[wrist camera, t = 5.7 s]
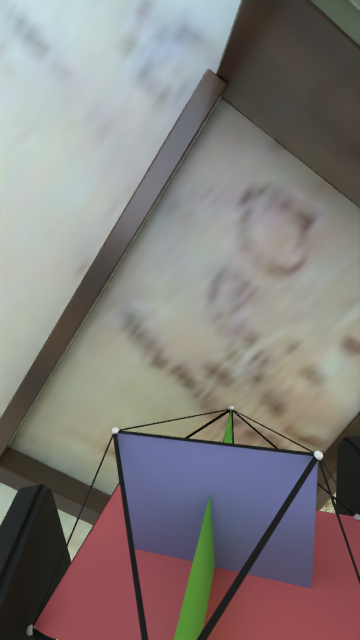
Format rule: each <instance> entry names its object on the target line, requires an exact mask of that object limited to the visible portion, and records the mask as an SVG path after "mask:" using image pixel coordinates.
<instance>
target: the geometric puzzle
mask: <svg viewBox="0 0 360 640" xmlns="http://www.w3.org/2000/svg"><path fill="white" fill-rule="evenodd" d="M226 410H227V411H226ZM226 410H221V411H225V412H224V413H222V414H221V415H219V416H218V417H216V418H215V419H213V420H211V421H210V422H208V423H207V424H205V425H204V426H202V427H201V428H199V429H198V430H196V431H194V432H193V433H191V434H190V435H188V436H187V437H185V438H180V437H171V436H163V435H154V434H145V433H137V432H128V431H122V430H127V429H132V428H138V427H143V426H148V425H153V424H159V423H164V422H169V421H174V420H179V419H185V418H190V417H195V416H200V415H205V414H211V413H216V412H221V411H216V412H210V413H205V414H200V415H194V416H189V417H184V418H178V419H173V420H168V421H163V422H157V423H152V424H147V425H141V426H136V427H131V428H125V429H120V430H119V428H118V427H114V428H113V429H112V433H113V434H112V437H111V439H110V442H109V444H108V446H107V449H106V451H105V454H104V456H103V458H102V461H101V463H100V466H99V468H98V470H97V473H96V475H95V477H94V480H93V482H92V485H91V487H90V489H89V492H88V494H87V497H86V499H85V501H84V504H83V506H82V509H81V511H80V513H79V516H78V518H77V521H76V523H75V525H74V528H73V530H72V533H71V535H70V537H69V540H68V542H67V545H66V547H65V549H64V552H63V554H62V557H61V559H60V561H59V564H58V566H57V568H56V571H55V573H54V576H53V578H52V580H51V583H50V585H49V588H48V590H47V592H46V595H45V597H44V600H43V602H42V604H41V607H40V609H39V612H38V614H37V616H36V619H35V621H34V624H33V625H30V626H29V627H28V628H27V631H26V632H27V635H29V636H30V635H32V634H33V635H34V637H35V639H36V640H38V638H37V637H39V638H40V639H42V640H52V639H51V638H49V637H52V638H54V639H57V640H360V515H359V514H355V512H354V511H353V509H352V507H351V506H350V504H349V503H348V501H347V499H346V498H345V496H344V495H343V493H342V491H341V490H340V488H339V487H338V485H337V483H336V482H335V480H334V479H333V477H332V475H331V474H330V472H329V471H328V469H327V467H326V466H325V464H324V463H323V461H322V458H323V454H322V453H321V452H320V451H315V452H313V451H311V450H309V449H307V448H305V447H303V446H302V445H300V444H298V443H296V442H294V441H292V440H290V439H288V438H286V437H284V436H283V435H281V434H279V433H277V432H275V431H273V430H271V429H269V428H267V427H265V426H264V425H262V424H260V423H258V422H256V421H254V420H252V419H250V418H248V417H246V416H244V415H243V414H241V413H239V412H237V411H235V410H234V408H233V406H229V408H228V409H226ZM228 412H229V419H228V424H227V428H226V432H225V436H224V440H223V442H215V441H206V440H197V439H189V437H191V436H193V435H194V434H196V433H197V432H199V431H200V430H202V429H203V428H205V427H207V426H208V425H210V424H211V423H213V422H214V421H216V420H217V419H219V418H221V417H222V416H224V415H225V414H227V413H228ZM233 412H234V413H235V414H236V415H237V416H239V417H240V418H241V419H242V420H243V421H244V422H246V423H247V424H248V425H249V426H250V427H251V428H253V429H254V430H255V431H256V432H257V433H258V434H259V435H261V436H262V437H263V438H264V439H265V440H266V441H268V442H269V443H270V444H271V445H272V446H273V447H275V448H267V447H258V446H250V445H241V444H234V433H233ZM236 412H237V413H239V414H241V415H243V416H244V417H246V418H248V419H250V420H252V421H254V422H256V423H258V424H259V425H261V426H263V427H265V428H267V429H269V430H271V431H273V432H275V433H276V434H278V435H280V436H282V437H284V438H286V439H288V440H290V441H291V442H293V443H295V444H297V445H299V446H301V447H303V448H305V449H306V450H308V451H310V452H312V453H310V452H302V451H293V450H284V449H278V448H277V447H276V446H275V445H273V444H272V443H271V442H270V441H269V440H268V439H266V438H265V437H264V436H263V435H262V434H261V433H259V432H258V431H257V430H256V429H255V428H254V427H252V426H251V425H250V424H249V423H248V422H247V421H245V420H244V419H243V418H242V417H241V416H240V415H238V414H237V413H236ZM112 438H113V439H114V446H115V454H116V461H117V468H118V475H119V484H118V486H117V487H116V489H115V490H114V492H113V494H112V495H111V497H110V499H109V500H108V502H107V504H106V505H105V507H104V509H103V510H102V512H101V514H100V515H99V517H98V519H97V520H96V522H95V524H94V525H93V527H92V529H91V530H90V532H89V534H88V535H87V537H86V539H85V540H84V542H83V544H82V545H81V547H80V549H79V550H78V552H77V554H76V555H75V557H74V559H73V560H72V562H71V563H70V565H69V567H68V568H67V570H66V572H65V573H64V575H63V577H62V578H61V580H60V582H59V583H58V585H57V587H56V588H55V590H54V592H53V593H52V595H51V597H50V598H49V600H48V602H47V603H46V605H45V607H44V608H43V610H42V612H41V613H40V611H41V608H42V606H43V604H44V601H45V599H46V596H47V594H48V592H49V589H50V587H51V584H52V582H53V580H54V577H55V575H56V572H57V570H58V568H59V565H60V563H61V560H62V558H63V556H64V553H65V551H66V548H67V546H68V544H69V541H70V539H71V536H72V534H73V532H74V529H75V527H76V524H77V522H78V520H79V517H80V515H81V512H82V510H83V508H84V505H85V503H86V500H87V498H88V496H89V493H90V491H91V488H92V486H93V484H94V481H95V479H96V476H97V474H98V472H99V469H100V467H101V464H102V462H103V460H104V457H105V455H106V452H107V450H108V448H109V445H110V443H111V440H112ZM318 462H319V465H320V468H321V471H322V474H323V477H324V480H325V483H326V486H327V489H328V491H327V490H326V489H325V488H323V487H322V486H321V485H320V484H319V483H318V482H317V472H318ZM321 462H322V463H323V465H324V466H325V468H326V470H327V471H328V473H329V474H330V476H331V477H332V479H333V481H334V482H335V484H336V485H337V487H338V489H339V490H340V492H341V493H342V495H343V496H344V498H345V500H346V501H347V503H348V504H349V506H350V508H351V509H352V511H353V512H354V513H353V512H351V511H350V510H349V509H348V508H347V507H346V506H344V505H343V504H342V503H341V502H340V501H339V500H337V499H336V498H335V497H334V496H333V495H332V492H331V490H330V487H329V484H328V481H327V478H326V475H325V472H324V469H323V466H322V463H321ZM317 485H319V486H320V487H321V488H322V489H323V490H324V491H326V492H327V493H328V494H329V495H330V498H331V501H332V504H333V507H334V510H335V513H336V514H335V513H329V512H323V511H316V493H317ZM334 499H335V500H336V501H337V502H338V503H340V504H341V505H342V506H343V507H344V508H345V509H347V510H348V511H349V512H350V513H351V514H352V515H341V514H339V513H338V510H337V507H336V504H335V501H334ZM39 613H40V615H39ZM38 616H39V617H38ZM48 636H49V637H48Z"/></svg>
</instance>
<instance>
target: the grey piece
mask: <svg viewBox="0 0 360 640" xmlns="http://www.w3.org/2000/svg"><path fill="white" fill-rule="evenodd" d="M222 97H223V98H224V99H225V100H227V101H228V102H229V103H230V104H232V105H233V106H234V107H235V108H237V109H238V110H239V111H240V112H242V113H243V114H244V115H245V116H247V117H248V118H249V119H250V120H252V121H253V122H254V123H255V124H257V125H258V126H259V127H260V128H261V129H263V130H264V131H265V132H266V133H268V134H269V135H270V136H271V137H273V138H274V139H275V140H276V141H278V142H279V143H280V144H281V145H283V146H284V147H285V148H286V149H288V150H289V151H290V152H291V153H293V154H294V155H295V156H296V157H298V158H299V159H300V160H301V161H303V162H304V163H305V164H306V165H308V166H309V167H310V168H311V169H313V170H314V171H315V172H316V173H318V174H319V175H320V176H321V177H323V178H324V179H325V180H326V181H328V182H329V183H330V184H331V185H333V186H334V187H335V188H336V189H338V190H339V191H340V192H341V193H343V194H344V195H345V196H346V197H348V198H349V199H350V200H351V201H353V202H354V203H355V204H356V205H358V206H359V207H360V0H241V2H240V5H239V8H238V11H237V14H236V17H235V20H234V23H233V26H232V29H231V32H230V35H229V37H228V40H227V43H226V46H225V49H224V52H223V55H222V58H221V61H220V64H219V67H218V70H217V73H216V74H215V73H214V72H213V71H211V70H210V69H207V70H206V72H205V74H204V75H203V77H202V79H201V80H200V82H199V84H198V86H197V87H196V89H195V91H194V92H193V94H192V96H191V97H190V99H189V101H188V102H187V104H186V106H185V108H184V109H183V111H182V113H181V114H180V116H179V118H178V119H177V121H176V123H175V124H174V126H173V128H172V129H171V131H170V133H169V135H168V136H167V138H166V140H165V141H164V143H163V145H162V146H161V148H160V150H159V151H158V153H157V155H156V156H155V158H154V160H153V162H152V163H151V165H150V167H149V168H148V170H147V172H146V173H145V175H144V177H143V178H142V180H141V182H140V184H139V185H138V187H137V189H136V190H135V192H134V194H133V195H132V197H131V199H130V200H129V202H128V204H127V205H126V207H125V209H124V211H123V212H122V214H121V216H120V217H119V219H118V221H117V222H116V224H115V226H114V227H113V229H112V231H111V232H110V234H109V236H108V238H107V239H106V241H105V243H104V244H103V246H102V248H101V249H100V251H99V253H98V254H97V256H96V258H95V260H94V261H93V263H92V265H91V266H90V268H89V270H88V271H87V273H86V275H85V276H84V278H83V280H82V281H81V283H80V285H79V287H78V288H77V290H76V292H75V293H74V295H73V297H72V298H71V300H70V302H69V303H68V305H67V307H66V308H65V310H64V312H63V314H62V315H61V317H60V319H59V320H58V322H57V324H56V325H55V327H54V329H53V330H52V332H51V334H50V335H49V337H48V339H47V341H46V342H45V344H44V346H43V347H42V349H41V351H40V352H39V354H38V356H37V357H36V359H35V361H34V363H33V364H32V366H31V368H30V369H29V371H28V373H27V374H26V376H25V378H24V379H23V381H22V383H21V384H20V386H19V388H18V390H17V391H16V393H15V395H14V396H13V398H12V400H11V401H10V403H9V405H8V406H7V408H6V410H5V411H4V413H3V415H2V417H1V418H0V483H2V484H5V485H7V486H9V487H11V488H13V489H16V490H19V489H20V488H21V487H25V486H32V485H38V484H43V485H44V486H45V488H46V489H51V490H52V492H53V496H54V500H55V503H56V507H57V509H59V510H61V511H63V512H66V513H68V514H70V515H72V516H74V517H76V518H78V516H79V513H80V511H81V509H82V506H83V504H84V501H85V499H86V497H87V494H88V492H89V489H90V486H88V485H86V484H84V483H82V482H80V481H78V480H75V479H73V478H71V477H69V476H67V475H65V474H63V473H61V472H59V471H57V470H55V469H53V468H51V467H49V466H46V465H44V464H42V463H40V462H38V461H36V460H34V459H32V458H30V457H28V456H26V455H24V454H22V453H20V452H17V451H15V450H13V449H11V448H9V447H8V446H9V445H10V443H11V442H12V440H13V438H14V437H15V435H16V433H17V432H18V430H19V429H20V427H21V425H22V424H23V422H24V420H25V419H26V417H27V415H28V414H29V412H30V411H31V409H32V407H33V406H34V404H35V402H36V401H37V399H38V397H39V396H40V394H41V393H42V391H43V389H44V388H45V386H46V384H47V383H48V381H49V379H50V378H51V376H52V375H53V373H54V371H55V370H56V368H57V366H58V365H59V363H60V361H61V360H62V358H63V357H64V355H65V353H66V352H67V350H68V348H69V347H70V345H71V343H72V342H73V340H74V339H75V337H76V335H77V334H78V332H79V330H80V329H81V327H82V325H83V324H84V322H85V321H86V319H87V317H88V316H89V314H90V312H91V311H92V309H93V307H94V306H95V304H96V303H97V301H98V299H99V298H100V296H101V294H102V293H103V291H104V289H105V288H106V286H107V285H108V283H109V281H110V280H111V278H112V276H113V275H114V273H115V271H116V270H117V268H118V267H119V265H120V263H121V262H122V260H123V258H124V257H125V255H126V253H127V252H128V250H129V249H130V247H131V245H132V244H133V242H134V240H135V239H136V237H137V235H138V234H139V232H140V231H141V229H142V227H143V226H144V224H145V222H146V221H147V219H148V217H149V216H150V214H151V213H152V211H153V209H154V208H155V206H156V204H157V203H158V201H159V199H160V198H161V196H162V195H163V193H164V191H165V190H166V188H167V186H168V185H169V183H170V181H171V180H172V178H173V177H174V175H175V173H176V172H177V170H178V168H179V167H180V165H181V163H182V162H183V160H184V159H185V157H186V155H187V154H188V152H189V150H190V149H191V147H192V145H193V144H194V142H195V141H196V139H197V137H198V136H199V134H200V132H201V131H202V129H203V127H204V126H205V124H206V123H207V121H208V119H209V118H210V116H211V114H212V113H213V111H214V109H215V108H216V106H217V105H218V103H219V101H220V100H221V98H222ZM358 434H360V414H359V415H358V416H357V417H356V418H355V419H354V421H353V422H352V423H351V424H350V425H349V426H348V428H347V429H346V430H345V431H344V432H343V433H342V435H341V436H340V437H339V438H338V439H337V440H336V442H335V443H334V444H333V445H332V446H331V447H330V449H329V450H328V451H327V452H326V453H325V454H324V456H323V458H322V461H323V463H324V464H325V466H326V467H327V469H328V471H329V472H330V474H331V475H332V477H333V479H334V480H335V482H336V477H337V445H338V443H341V442H342V439H343V437H345V436H351V435H358ZM321 463H322V462H321ZM323 463H322V466H323V469H324V472H325V475H326V478H327V481H328V484H329V487H330V490H331V492H332V495H334V494H335V492H336V484H335V482H334V481H333V479H332V477H331V476H330V474H329V473H328V471H327V470H326V468H325V466H324V465H323ZM317 482H318V483H319V484H320V485H321V486H322V487H323V488H325V489H326V490H327V491H328V489H327V486H326V483H325V480H324V477H323V474H322V471H321V468H320V465H319V462H318V472H317ZM110 497H111V496H109V495H106V494H104V493H102V492H100V491H98V490H96V489H94V488H91V491H90V493H89V496H88V498H87V500H86V503H85V505H84V508H83V510H82V512H81V515H80V517H79V519H81V520H83V521H85V522H87V523H90V524H92V525H94V524H95V522H96V520H97V519H98V517H99V515H100V514H101V512H102V510H103V509H104V507H105V505H106V504H107V502H108V500H109V499H110ZM329 499H330V495H329V494H328V493H327V492H326V491H324V490H323V489H322V488H321V487H320V486H319V485H317V493H316V511H319V510H320V509H321V508H322V507H323V506H324V505H325V504H326V502H327V501H328V500H329Z"/></svg>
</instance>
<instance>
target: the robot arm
mask: <svg viewBox="0 0 360 640" xmlns="http://www.w3.org/2000/svg"><path fill="white" fill-rule="evenodd" d="M336 483H337V485H338V487H339V488H340V490H341V491H342V493H343V495H344V496H345V498H346V499H347V501H348V503H349V504H350V506H351V507H352V509H353V511H354V512H355V514H359V515H360V434H358V435H351V436H345V437H343V439H342V442H341V443H338V445H337V477H336ZM337 485H336V499H337V500H339V501H340V502H341V503H342V504H343V505H344V506H346V507H347V508H348V509H349V510H350V511H351V512H353V511H352V509H351V508H350V506H349V504H348V503H347V501H346V500H345V498H344V496H343V495H342V493H341V492H340V490H339V489H338V487H337ZM336 507H337V510H338V513H339V514H341V515H352V514H351V513H350V512H349V511H348V510H347V509H345V508H344V507H343V506H342V505H341V504H340V503H338V502H337V501H336ZM354 512H353V513H354ZM66 545H67V544H66V540H65V537H64V533H63V529H62V526H61V522H60V518H59V515H58V511H57V507H56V503H55V500H54V496H53V492H52V490H51V489H46V488H45V486H44V485H43V484H38V485H32V486H25V487H21V488H20V489H19V490H18V492H17V494H16V496H15V498H14V500H13V502H12V504H11V506H10V508H9V510H8V512H7V514H6V516H5V518H4V520H3V522H2V524H1V526H0V640H36V639H35V637H34V635H33V634H32V635H30V636H29V635H27V632H26V631H27V628H28V627H29V626H30V625H33V624H34V621H35V619H36V616H37V614H38V612H39V609H40V607H41V604H42V602H43V600H44V597H45V595H46V592H47V590H48V588H49V585H50V583H51V580H52V578H53V576H54V573H55V571H56V568H57V566H58V564H59V561H60V559H61V557H62V554H63V552H64V549H65V547H66ZM70 563H71V559H70V555H69V552H68V548H66V551H65V553H64V556H63V558H62V560H61V563H60V565H59V568H58V570H57V572H56V575H55V577H54V580H53V582H52V584H51V587H50V589H49V592H48V594H47V596H46V599H45V601H44V604H43V606H42V608H41V611H40V613H41V612H42V610H43V608H44V607H45V605H46V603H47V602H48V600H49V598H50V597H51V595H52V593H53V592H54V590H55V588H56V587H57V585H58V583H59V582H60V580H61V578H62V577H63V575H64V573H65V572H66V570H67V568H68V567H69V565H70ZM40 613H39V615H40ZM38 617H39V616H38ZM48 637H49V636H48ZM37 638H38V640H42V639H40V638H39V637H37ZM49 638H51V639H52V640H56V639H54V638H52V637H49Z"/></svg>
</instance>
